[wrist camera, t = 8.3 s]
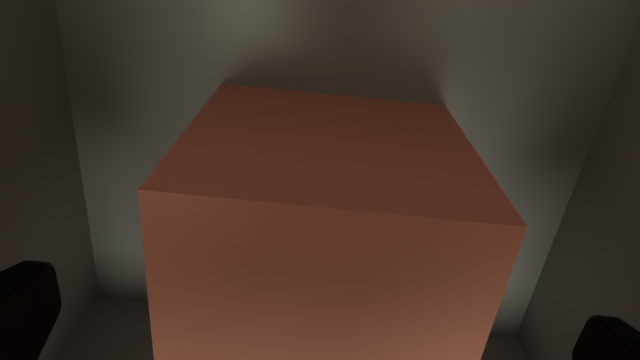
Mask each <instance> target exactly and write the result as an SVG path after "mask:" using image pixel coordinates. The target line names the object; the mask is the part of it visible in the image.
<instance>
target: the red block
mask: <svg viewBox="0 0 640 360" xmlns="http://www.w3.org/2000/svg"><path fill="white" fill-rule="evenodd" d="M138 200H139V210H140V221H141V231H142V242H143V252H144V262H145V273H146V283H147V294H148V304H149V314H150V325H151V335H152V346H153V356H154V360H480V359H481V357H482V354H483V351H484V348H485V345H486V342H487V340H488V337H489V334H490V331H491V328H492V325H493V323H494V320H495V317H496V314H497V311H498V308H499V306H500V303H501V300H502V297H503V294H504V291H505V289H506V286H507V283H508V280H509V277H510V274H511V272H512V269H513V266H514V263H515V260H516V257H517V255H518V252H519V249H520V246H521V243H522V240H523V237H524V235H525V232H526V229H527V226H526V224H525V223H524V221H523V220H522V218H521V217H520V215H519V214H518V212H517V211H516V210H515V208H514V207H513V205H512V204H511V202H510V201H509V199H508V198H507V196H506V195H505V193H504V192H503V190H502V189H501V187H500V186H499V184H498V183H497V181H496V180H495V178H494V177H493V175H492V174H491V172H490V171H489V169H488V168H487V167H486V165H485V164H484V162H483V161H482V159H481V158H480V156H479V155H478V153H477V152H476V150H475V149H474V147H473V146H472V144H471V143H470V141H469V140H468V138H467V137H466V135H465V134H464V132H463V131H462V129H461V128H460V126H459V125H458V124H457V122H456V121H455V119H454V118H453V116H452V115H451V113H450V112H449V110H448V109H447V107H446V106H445V105H438V104H428V103H418V102H408V101H398V100H388V99H378V98H368V97H358V96H348V95H338V94H328V93H318V92H308V91H298V90H288V89H278V88H268V87H258V86H247V85H237V84H227V83H222V84H221V85H220V86H219V87H218V89H217V90H216V91H215V92H214V94H213V95H212V96H211V97H210V99H209V100H208V101H207V103H206V104H205V105H204V106H203V108H202V109H201V110H200V111H199V113H198V114H197V115H196V116H195V118H194V119H193V120H192V122H191V123H190V124H189V125H188V127H187V128H186V129H185V130H184V132H183V133H182V134H181V135H180V137H179V138H178V139H177V140H176V142H175V143H174V144H173V146H172V147H171V148H170V149H169V151H168V152H167V153H166V154H165V156H164V157H163V158H162V159H161V161H160V162H159V163H158V164H157V166H156V167H155V168H154V170H153V171H152V172H151V173H150V175H149V176H148V177H147V178H146V180H145V181H144V182H143V183H142V185H141V186H140V187H139V189H138Z"/></svg>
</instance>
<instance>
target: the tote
mask: <svg viewBox="0 0 640 360" xmlns="http://www.w3.org/2000/svg"><path fill="white" fill-rule="evenodd" d="M222 83H227V84H237V85H247V86H258V87H268V88H278V89H288V90H298V91H308V92H318V93H328V94H338V95H348V96H358V97H368V98H378V99H388V100H398V101H408V102H418V103H428V104H438V105H445V106H446V107H447V109H448V110H449V112H450V113H451V115H452V116H453V118H454V119H455V121H456V122H457V124H458V125H459V126H460V128H461V129H462V131H463V132H464V134H465V135H466V137H467V138H468V140H469V141H470V143H471V144H472V146H473V147H474V149H475V150H476V152H477V153H478V155H479V156H480V158H481V159H482V161H483V162H484V164H485V165H486V167H487V168H488V169H489V171H490V172H491V174H492V175H493V177H494V178H495V180H496V181H497V183H498V184H499V186H500V187H501V189H502V190H503V192H504V193H505V195H506V196H507V198H508V199H509V201H510V202H511V204H512V205H513V207H514V208H515V210H516V211H517V212H518V214H519V215H520V217H521V218H522V220H523V221H524V223H525V224H526V226H527V229H526V232H525V235H524V237H523V240H522V243H521V246H520V249H519V252H518V255H517V257H516V260H515V263H514V266H513V269H512V272H511V274H510V277H509V280H508V283H507V286H506V289H505V291H504V294H503V297H502V300H501V303H500V306H499V308H498V311H497V314H496V317H495V320H494V323H493V325H492V328H491V331H490V334H489V337H488V340H487V342H486V345H485V348H484V351H483V354H482V357H481V359H480V360H572V351H573V347H574V345H575V343H576V341H577V339H578V337H579V335H580V333H581V331H582V329H583V326H584V324H585V322H586V320H587V319H588V318H589V317H590V316H592V315H605V316H614V317H618V318H620V319H622V320H623V321H625V322H626V323H628V324H629V325H631V326H632V327H634V328H635V329H637V330H638V331H640V0H0V271H3V270H5V269H7V268H9V267H11V266H13V265H15V264H18V263H20V262H22V261H25V260H35V261H45V262H50V263H52V264H53V265H54V267H55V270H56V274H57V279H58V284H59V289H60V294H61V300H62V306H61V311H60V314H59V316H58V318H57V321H56V323H55V325H54V327H53V329H52V331H51V333H50V335H49V337H48V340H47V342H46V344H45V346H44V348H43V350H42V352H41V354H40V356H39V359H38V360H154V356H153V346H152V335H151V325H150V314H149V304H148V294H147V283H146V273H145V262H144V252H143V242H142V231H141V221H140V210H139V200H138V189H139V187H140V186H141V185H142V183H143V182H144V181H145V180H146V178H147V177H148V176H149V175H150V173H151V172H152V171H153V170H154V168H155V167H156V166H157V164H158V163H159V162H160V161H161V159H162V158H163V157H164V156H165V154H166V153H167V152H168V151H169V149H170V148H171V147H172V146H173V144H174V143H175V142H176V140H177V139H178V138H179V137H180V135H181V134H182V133H183V132H184V130H185V129H186V128H187V127H188V125H189V124H190V123H191V122H192V120H193V119H194V118H195V116H196V115H197V114H198V113H199V111H200V110H201V109H202V108H203V106H204V105H205V104H206V103H207V101H208V100H209V99H210V97H211V96H212V95H213V94H214V92H215V91H216V90H217V89H218V87H219V86H220V85H221V84H222Z"/></svg>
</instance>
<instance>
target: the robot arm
mask: <svg viewBox="0 0 640 360" xmlns="http://www.w3.org/2000/svg"><path fill="white" fill-rule="evenodd" d="M61 306H62V300H61V294H60V289H59V284H58V279H57V274H56V270H55V267H54V265H53V264H52V263H50V262H45V261H35V260H25V261H22V262H20V263H18V264H15V265H13V266H11V267H9V268H7V269H5V270H3V271H0V360H38V359H39V356H40V354H41V352H42V350H43V348H44V346H45V344H46V342H47V340H48V337H49V335H50V333H51V331H52V329H53V327H54V325H55V323H56V321H57V318H58V316H59V314H60V311H61ZM572 360H640V331H638V330H637V329H635V328H634V327H632V326H631V325H629V324H628V323H626V322H625V321H623V320H622V319H620V318H618V317H614V316H605V315H592V316H590V317H589V318H588V319H587V320H586V322H585V324H584V326H583V329H582V331H581V333H580V335H579V337H578V339H577V341H576V343H575V345H574V347H573V351H572Z"/></svg>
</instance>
